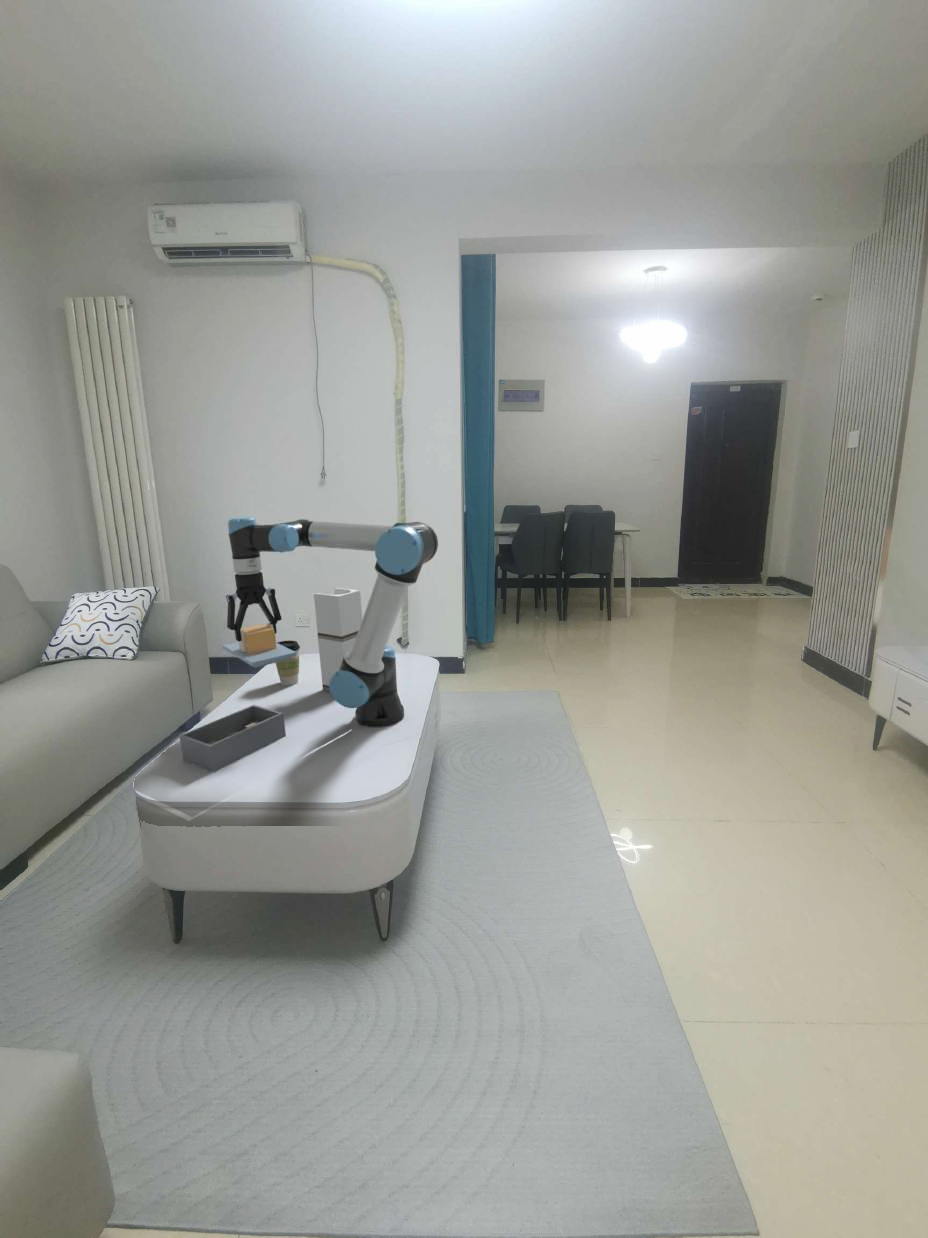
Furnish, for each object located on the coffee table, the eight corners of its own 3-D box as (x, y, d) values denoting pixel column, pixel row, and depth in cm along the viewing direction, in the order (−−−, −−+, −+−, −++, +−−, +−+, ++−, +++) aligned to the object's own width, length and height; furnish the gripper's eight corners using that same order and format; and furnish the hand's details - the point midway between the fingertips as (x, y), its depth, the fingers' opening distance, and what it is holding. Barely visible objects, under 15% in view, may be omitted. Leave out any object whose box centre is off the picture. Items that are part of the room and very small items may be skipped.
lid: (264, 642, 188) (261, 618, 186) (296, 658, 170) (293, 632, 168) (223, 651, 180) (219, 626, 178) (252, 669, 162) (248, 641, 160)
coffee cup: (278, 689, 210) (274, 649, 207) (273, 681, 219) (269, 642, 215) (306, 684, 215) (302, 645, 211) (300, 676, 223) (296, 638, 220)
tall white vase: (367, 685, 212) (360, 590, 203) (346, 695, 203) (338, 596, 194) (343, 680, 218) (336, 587, 209) (322, 689, 209) (313, 593, 200)
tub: (286, 738, 171) (283, 713, 169) (213, 775, 152) (209, 746, 150) (256, 729, 178) (253, 704, 176) (183, 763, 159) (179, 735, 157)
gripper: (215, 579, 160) (227, 658, 165) (288, 568, 173) (296, 642, 178) (206, 575, 165) (218, 653, 171) (277, 566, 178) (286, 638, 184)
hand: (258, 647), depth 175 cm, fingers closed on lid, 8 cm apart
